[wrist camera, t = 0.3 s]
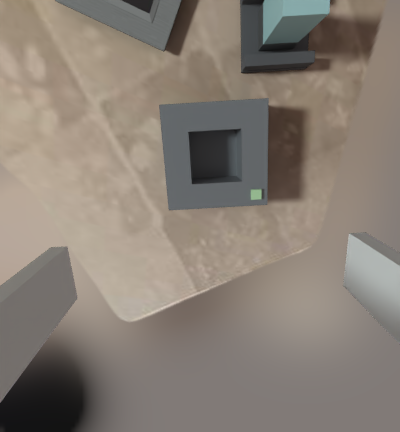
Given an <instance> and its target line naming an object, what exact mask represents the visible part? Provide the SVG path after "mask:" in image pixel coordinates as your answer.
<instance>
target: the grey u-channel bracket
mask: <svg viewBox="0 0 400 432" xmlns="http://www.w3.org/2000/svg"><path fill="white" fill-rule="evenodd" d="M263 2H264V0H240V7H241V73H252V72H268V71H284V70H301V69H306V68H307V67H308V66H309V65H311V64H312V63H314V60H315V51H308V38H309V33H308V34H307V35H306V36H305V37H303V38H302V39H301V40H300V41H299V43H298V44H297V45H296V46H295V47H294V48H293V49H286V50H270V51H258V11H259V9H260V7H261V5H262V3H263Z"/></svg>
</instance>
